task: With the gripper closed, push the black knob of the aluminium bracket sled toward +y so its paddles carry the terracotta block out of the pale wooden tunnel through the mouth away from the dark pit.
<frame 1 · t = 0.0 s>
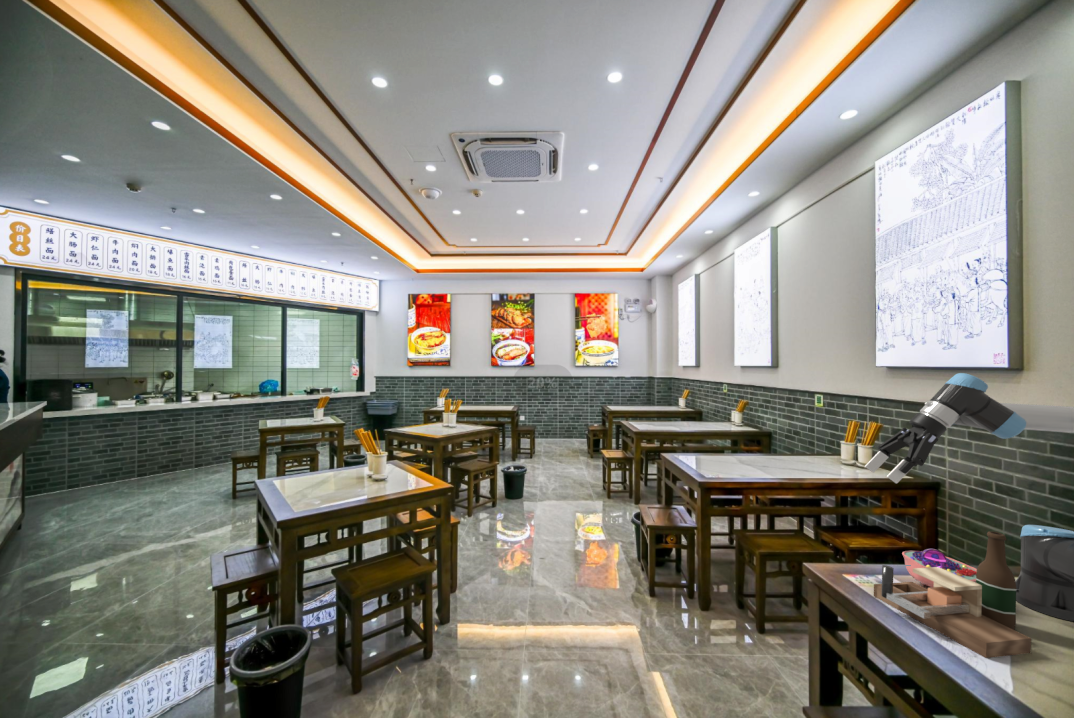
hand: (879, 474, 123), 36 cm above the table, tool tilted 35°, fingers open, 13 cm apart
sled: (925, 589, 112), point 8 cm above the table, slide at 0.0 cm
tunnel: (945, 591, 112), on the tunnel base, point 8 cm above the table
beer bottle: (994, 623, 112), on the table
block: (944, 606, 112), point 3 cm above the table, touching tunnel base
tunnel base: (943, 619, 112), on the table
cell model: (941, 591, 128), on the table
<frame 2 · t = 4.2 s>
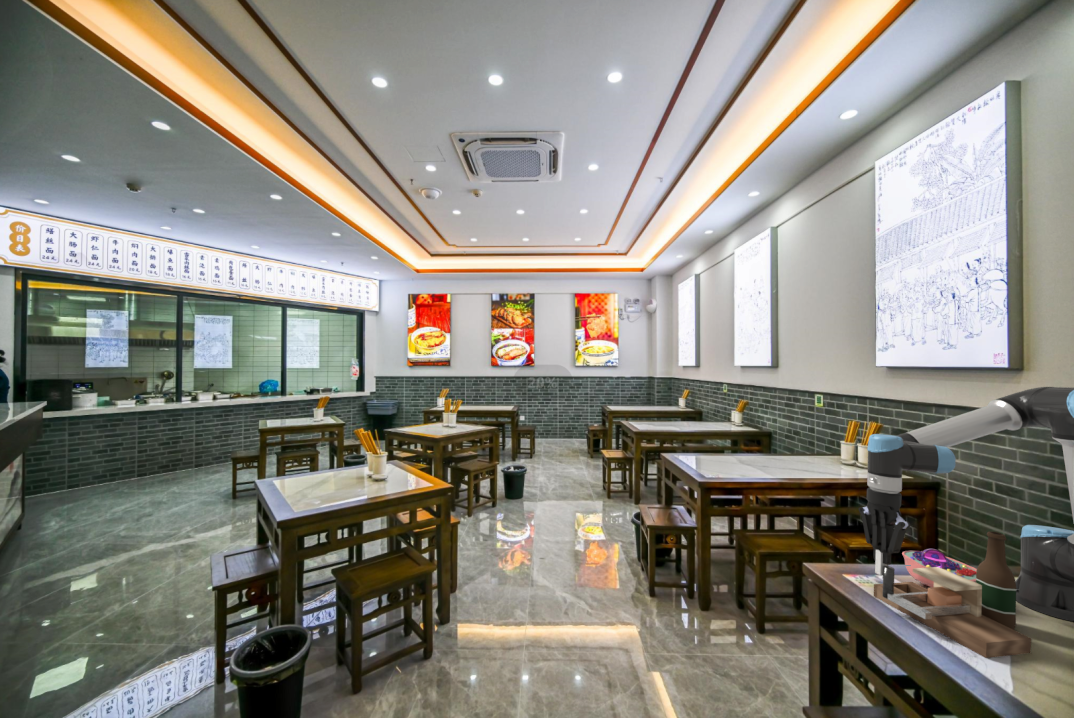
hand: (881, 573, 117), 9 cm above the table, tool pointing down, fingers closed
sled: (926, 589, 112), point 8 cm above the table, slide at 0.3 cm, touching gripper
everything else where it was.
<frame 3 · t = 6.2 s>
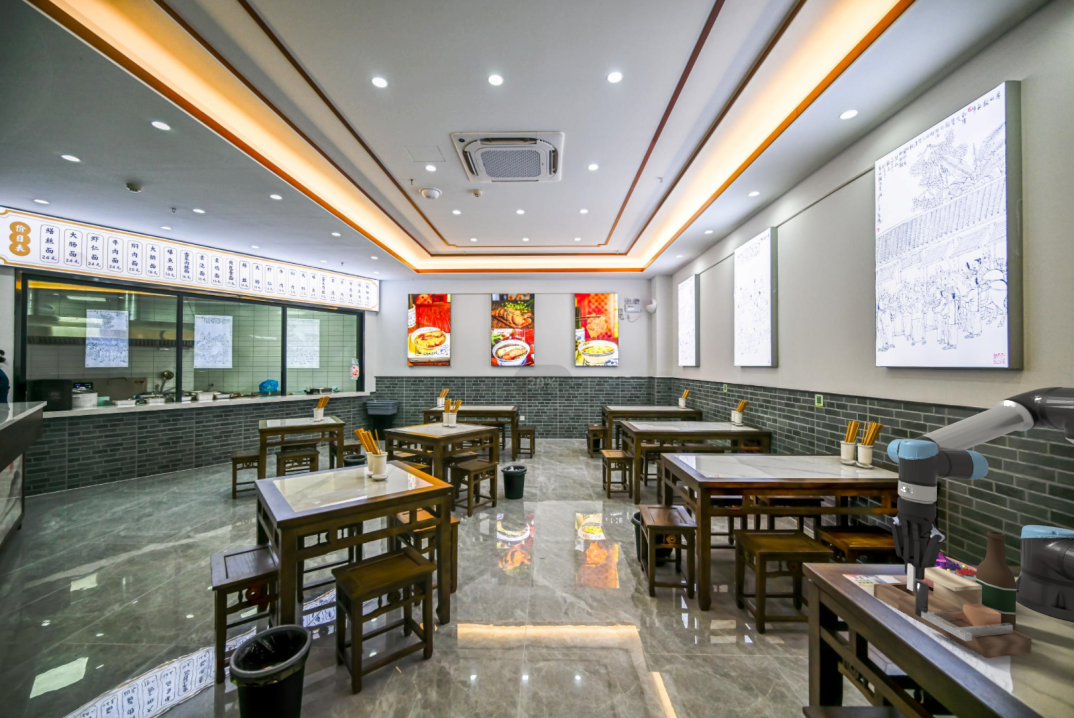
hand: (913, 589, 109), 9 cm above the table, tool pointing down, fingers closed
sled: (963, 607, 104), point 8 cm above the table, slide at 8.6 cm, touching block, gripper
block: (981, 625, 104), point 3 cm above the table, touching sled, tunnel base
everything else where it was.
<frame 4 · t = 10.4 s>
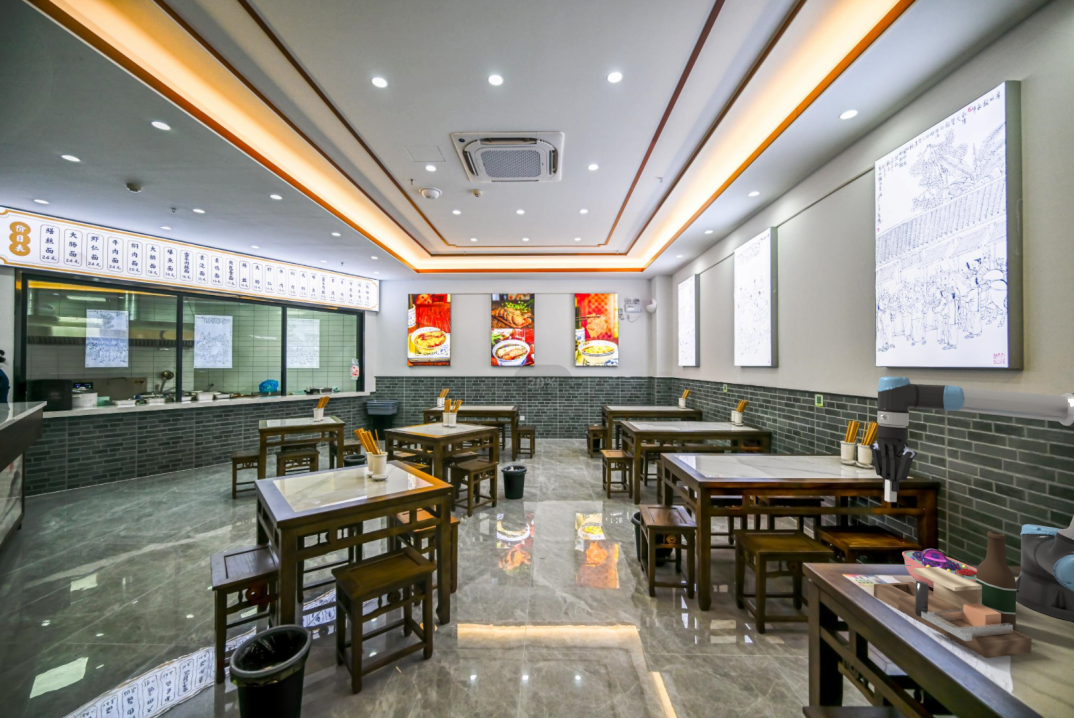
hand: (890, 501, 130), 26 cm above the table, tool pointing down, fingers closed
sled: (963, 607, 104), point 8 cm above the table, slide at 8.7 cm, touching block
everything else where it was.
at the end: block inside the target area (3.1 cm from its centre), point 3.5 cm above the table; sled slide at 8.7 cm; block tilted 0° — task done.
